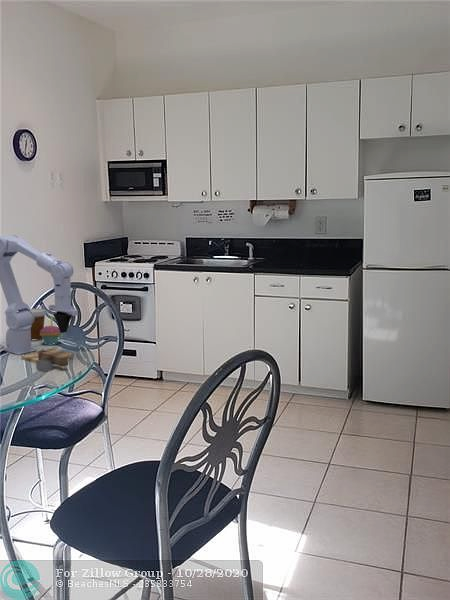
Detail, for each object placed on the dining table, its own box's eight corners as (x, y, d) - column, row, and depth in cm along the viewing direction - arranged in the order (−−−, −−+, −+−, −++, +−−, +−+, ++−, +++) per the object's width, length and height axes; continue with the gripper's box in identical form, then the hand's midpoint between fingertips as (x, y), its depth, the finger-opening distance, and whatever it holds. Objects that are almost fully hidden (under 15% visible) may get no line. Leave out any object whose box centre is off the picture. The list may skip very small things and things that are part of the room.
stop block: (36, 368, 212) (36, 360, 212) (45, 366, 215) (44, 358, 214) (45, 371, 209) (44, 363, 209) (53, 369, 212) (53, 361, 211)
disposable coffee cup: (39, 342, 248) (38, 313, 246) (18, 340, 250) (17, 311, 248) (50, 337, 257) (49, 309, 255) (29, 335, 259) (29, 307, 257)
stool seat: (21, 358, 224) (21, 355, 224) (53, 351, 235) (53, 348, 235) (41, 365, 217) (41, 361, 216) (73, 357, 228) (73, 354, 227)
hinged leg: (36, 359, 218) (36, 349, 218) (43, 357, 220) (43, 348, 220) (61, 366, 210) (61, 356, 209) (68, 365, 212) (68, 355, 212)
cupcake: (44, 340, 251) (43, 311, 249) (64, 341, 251) (63, 312, 249) (37, 345, 243) (36, 316, 241) (58, 346, 243) (57, 316, 240)
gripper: (84, 297, 223) (84, 333, 225) (59, 292, 231) (60, 327, 234) (68, 299, 217) (69, 336, 219) (43, 294, 226) (44, 330, 228)
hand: (63, 332), depth 226 cm, fingers closed
